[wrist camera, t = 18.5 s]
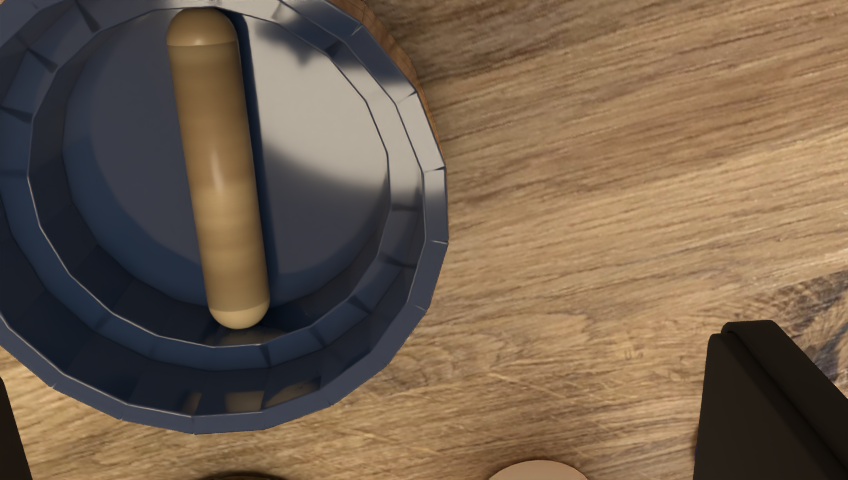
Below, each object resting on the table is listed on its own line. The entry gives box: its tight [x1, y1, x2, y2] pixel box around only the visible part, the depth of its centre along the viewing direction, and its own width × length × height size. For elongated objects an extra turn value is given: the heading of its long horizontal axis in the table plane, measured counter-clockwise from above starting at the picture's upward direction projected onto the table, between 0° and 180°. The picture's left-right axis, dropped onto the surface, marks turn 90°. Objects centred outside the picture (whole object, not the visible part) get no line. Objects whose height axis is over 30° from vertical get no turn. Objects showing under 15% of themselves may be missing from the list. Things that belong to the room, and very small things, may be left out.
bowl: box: [0, 0, 449, 435], centre depth 27 cm, size 16×16×6 cm
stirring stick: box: [166, 8, 270, 329], centre depth 29 cm, size 12×2×2 cm, turn 2°
